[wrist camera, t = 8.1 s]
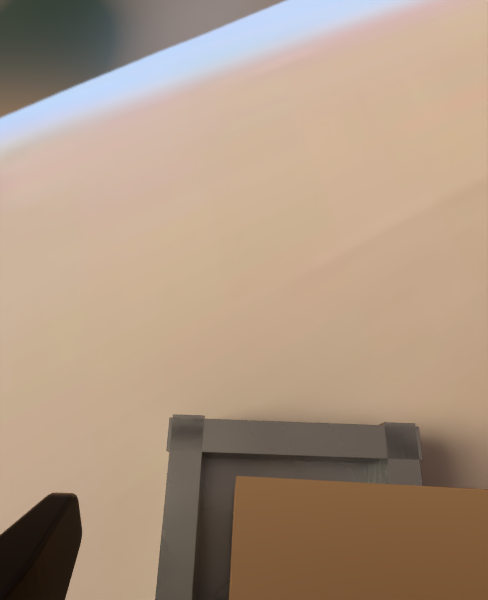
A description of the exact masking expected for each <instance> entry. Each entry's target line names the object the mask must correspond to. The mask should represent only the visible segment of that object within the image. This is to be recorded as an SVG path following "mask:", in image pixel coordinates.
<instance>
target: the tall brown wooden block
mask: <svg viewBox="0 0 488 600" xmlns="http://www.w3.org/2000/svg"><path fill="white" fill-rule="evenodd" d="M229 600H488V489H470V488H452V487H433V486H415V485H396V484H378V483H360V482H341V481H323V480H305V479H286V478H268V477H249V476H236V483H235V492H234V511H233V530H232V548H231V567H230V586H229Z"/></svg>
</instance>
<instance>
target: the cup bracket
mask: <svg viewBox="0 0 488 600" xmlns="http://www.w3.org/2000/svg"><path fill="white" fill-rule="evenodd" d="M166 451H168V452H169V462H168V473H167V483H166V494H165V504H164V514H163V525H162V535H161V545H160V556H159V566H158V576H157V587H156V597H155V600H229V586H230V567H231V548H232V530H233V511H234V492H235V483H236V476H249V477H268V478H286V479H305V480H323V481H341V482H360V483H378V484H396V485H415V486H423V484H422V476H421V468H420V460H423V458H422V450H421V442H420V434H419V427H415V424H414V423H387V422H384V423H382V424H380V425H356V424H329V423H302V422H275V421H248V420H222V419H205V416H200V415H173V418H170V419H169V430H168V440H167V450H166Z"/></svg>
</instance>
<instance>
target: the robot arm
mask: <svg viewBox="0 0 488 600" xmlns="http://www.w3.org/2000/svg"><path fill="white" fill-rule="evenodd" d="M81 538H82V526H81V518H80V510H79V502H78V498H77V496H76V495H75V494H73V493H51V494H49V495H48V496H46V497H45V498H44V499H43V500H41V501H40V502H39V503H38V504H37V505H35V506H34V507H33V508H32V509H31V510H29V511H28V512H27V513H26V514H25V515H24V516H22V517H21V518H20V519H19V520H18V521H16V522H15V523H14V524H13V525H12V526H10V527H9V528H8V529H7V530H6V531H4V532H3V533H2V534H1V535H0V600H65V597H66V594H67V590H68V587H69V583H70V579H71V576H72V572H73V569H74V565H75V562H76V558H77V555H78V551H79V547H80V543H81Z"/></svg>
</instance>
